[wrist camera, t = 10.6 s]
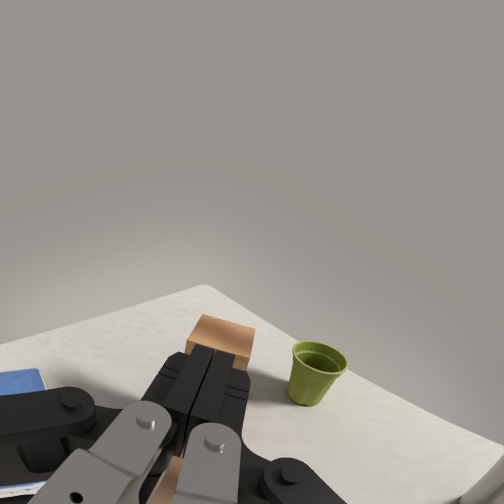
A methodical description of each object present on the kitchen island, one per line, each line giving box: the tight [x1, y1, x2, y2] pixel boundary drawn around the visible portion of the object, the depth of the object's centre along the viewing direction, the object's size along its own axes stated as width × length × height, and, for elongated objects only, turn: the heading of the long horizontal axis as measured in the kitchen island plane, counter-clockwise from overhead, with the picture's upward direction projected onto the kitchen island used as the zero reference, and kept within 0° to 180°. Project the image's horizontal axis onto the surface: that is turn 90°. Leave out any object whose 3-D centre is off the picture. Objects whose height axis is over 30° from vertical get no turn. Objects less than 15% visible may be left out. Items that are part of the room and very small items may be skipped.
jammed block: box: [185, 314, 255, 371], centre depth 30 cm, size 6×6×15 cm
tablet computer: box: [0, 368, 48, 495], centre depth 21 cm, size 19×13×1 cm, turn 48°
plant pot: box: [287, 341, 348, 406], centre depth 44 cm, size 9×9×9 cm
